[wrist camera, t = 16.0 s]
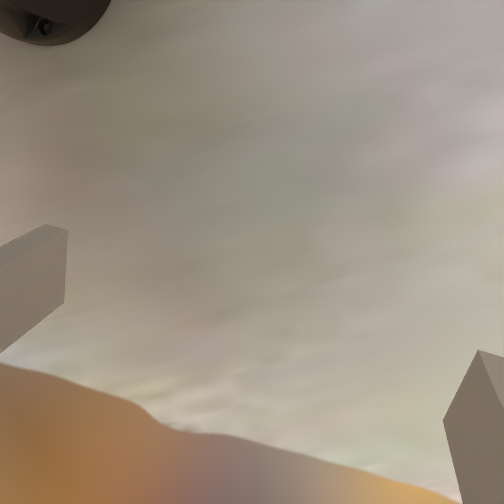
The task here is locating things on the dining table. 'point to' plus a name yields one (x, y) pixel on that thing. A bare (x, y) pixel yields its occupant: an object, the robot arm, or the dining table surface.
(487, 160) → the dining table surface
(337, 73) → the dining table surface
